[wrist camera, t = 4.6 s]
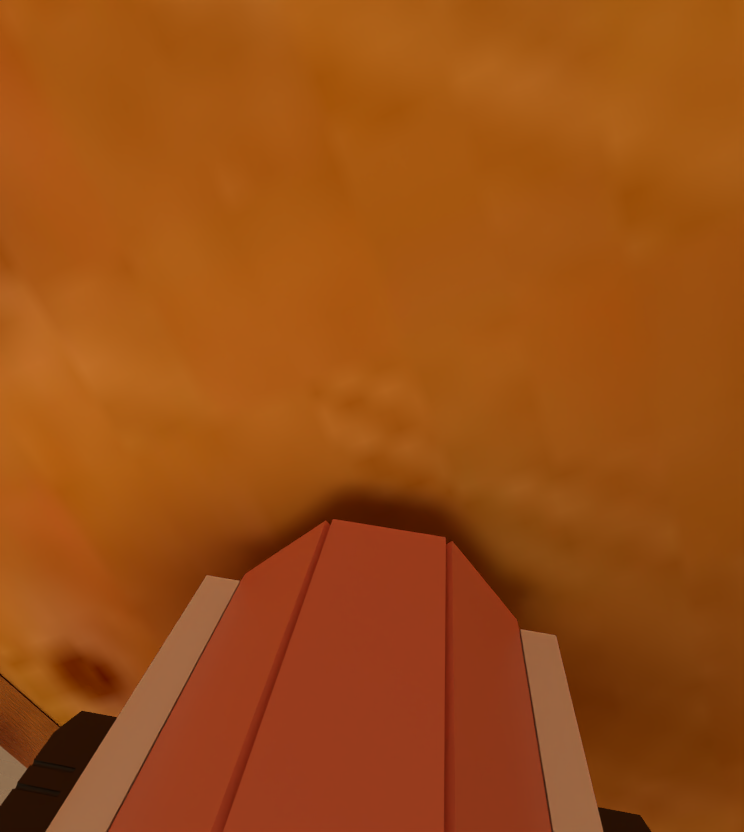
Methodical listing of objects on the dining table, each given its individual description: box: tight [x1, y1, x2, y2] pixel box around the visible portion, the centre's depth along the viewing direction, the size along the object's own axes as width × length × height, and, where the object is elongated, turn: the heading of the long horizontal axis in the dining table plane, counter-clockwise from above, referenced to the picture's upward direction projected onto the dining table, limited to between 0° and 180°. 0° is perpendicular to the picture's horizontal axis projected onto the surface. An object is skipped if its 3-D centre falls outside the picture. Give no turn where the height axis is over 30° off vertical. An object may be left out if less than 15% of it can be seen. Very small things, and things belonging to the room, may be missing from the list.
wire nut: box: [108, 519, 552, 832], centre depth 10 cm, size 6×6×8 cm
